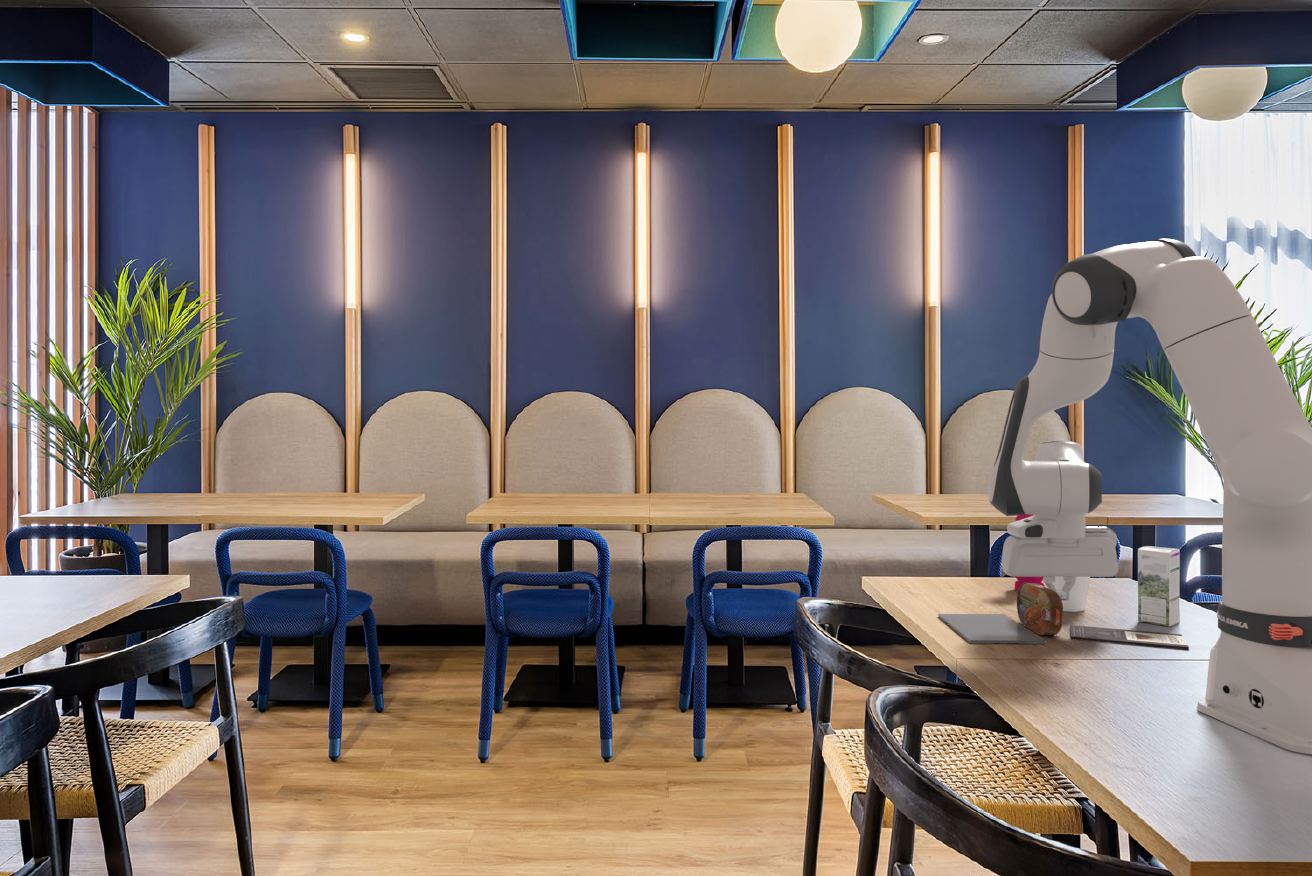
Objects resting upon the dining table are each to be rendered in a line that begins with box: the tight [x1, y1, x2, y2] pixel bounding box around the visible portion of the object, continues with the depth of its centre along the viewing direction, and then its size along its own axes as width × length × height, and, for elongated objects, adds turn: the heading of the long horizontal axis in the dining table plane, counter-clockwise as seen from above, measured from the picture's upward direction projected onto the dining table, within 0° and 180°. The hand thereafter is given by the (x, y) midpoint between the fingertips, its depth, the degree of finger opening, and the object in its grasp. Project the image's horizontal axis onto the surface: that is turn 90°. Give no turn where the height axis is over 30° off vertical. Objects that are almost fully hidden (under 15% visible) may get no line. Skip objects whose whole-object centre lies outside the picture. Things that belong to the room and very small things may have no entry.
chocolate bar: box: [1069, 624, 1190, 651], centre depth 148 cm, size 9×1×18 cm
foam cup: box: [1052, 577, 1091, 613], centre depth 172 cm, size 10×9×13 cm
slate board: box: [937, 613, 1046, 645], centre depth 156 cm, size 20×13×1 cm, turn 177°
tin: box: [1016, 582, 1064, 636], centre depth 155 cm, size 15×3×8 cm, turn 178°
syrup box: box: [1137, 545, 1181, 627], centre depth 160 cm, size 6×6×14 cm
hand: (1059, 599), depth 155 cm, fingers closed
